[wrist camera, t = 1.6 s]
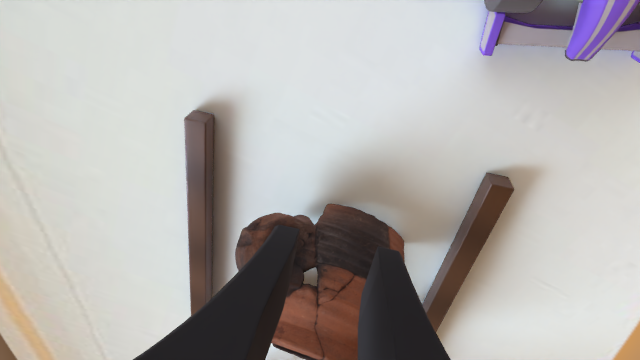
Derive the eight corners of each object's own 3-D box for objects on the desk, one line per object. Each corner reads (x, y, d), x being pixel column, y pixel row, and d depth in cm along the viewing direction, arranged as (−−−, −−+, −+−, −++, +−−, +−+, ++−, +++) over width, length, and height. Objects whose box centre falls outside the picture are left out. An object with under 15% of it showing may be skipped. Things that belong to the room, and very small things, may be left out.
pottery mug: (442, 259, 24) (416, 399, 21) (336, 256, 31) (302, 361, 28) (322, 152, 18) (252, 328, 14) (221, 177, 25) (157, 300, 21)
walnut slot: (403, 378, 31) (404, 395, 30) (196, 330, 32) (189, 345, 30) (510, 177, 20) (518, 191, 19) (191, 108, 21) (179, 119, 20)
